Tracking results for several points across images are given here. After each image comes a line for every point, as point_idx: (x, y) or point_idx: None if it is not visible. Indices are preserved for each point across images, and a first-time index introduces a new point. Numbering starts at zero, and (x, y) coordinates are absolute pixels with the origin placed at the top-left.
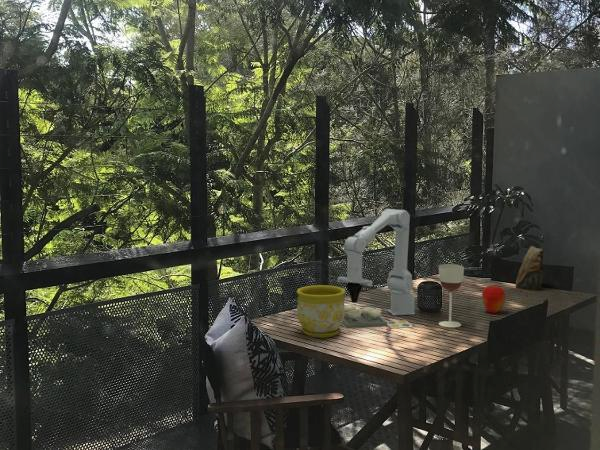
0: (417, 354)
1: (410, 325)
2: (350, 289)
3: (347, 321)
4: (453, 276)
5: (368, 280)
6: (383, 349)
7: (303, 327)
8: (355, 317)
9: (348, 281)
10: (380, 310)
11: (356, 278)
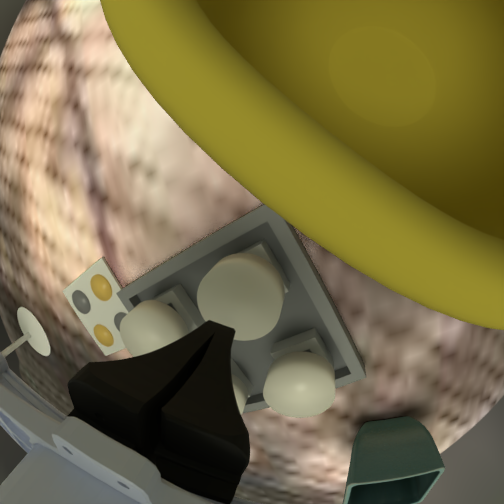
0: (24, 46)
1: (72, 301)
2: (191, 394)
3: (302, 306)
4: None
5: (3, 424)
6: (83, 15)
7: (453, 23)
8: (227, 256)
9: (116, 457)
10: (123, 341)
11: (23, 463)
